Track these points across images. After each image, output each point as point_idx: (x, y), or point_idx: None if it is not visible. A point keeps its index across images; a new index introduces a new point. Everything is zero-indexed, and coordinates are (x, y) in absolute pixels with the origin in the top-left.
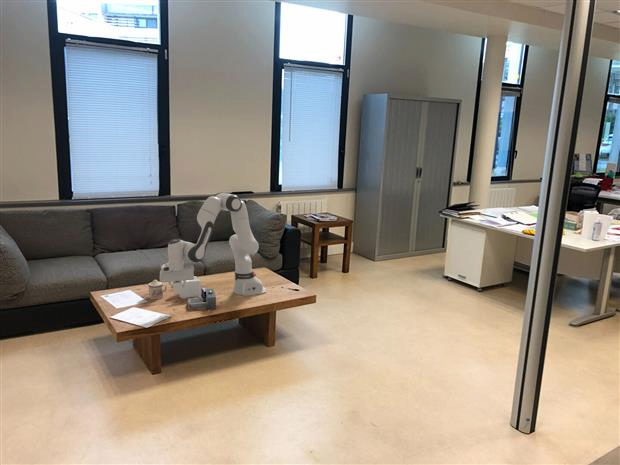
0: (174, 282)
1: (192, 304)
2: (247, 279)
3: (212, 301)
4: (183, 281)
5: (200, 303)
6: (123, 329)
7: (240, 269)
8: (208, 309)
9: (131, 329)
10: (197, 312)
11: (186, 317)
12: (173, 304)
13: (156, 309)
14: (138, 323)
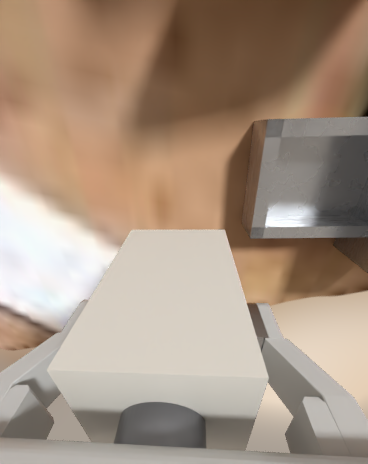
0: (113, 436)
1: (269, 236)
2: None
3: None
4: (289, 447)
5: (321, 237)
6: (4, 340)
7: None
8: (337, 246)
9: (31, 344)
10: (272, 263)
11: None
12: (153, 114)
13: (61, 185)
14: (35, 313)
